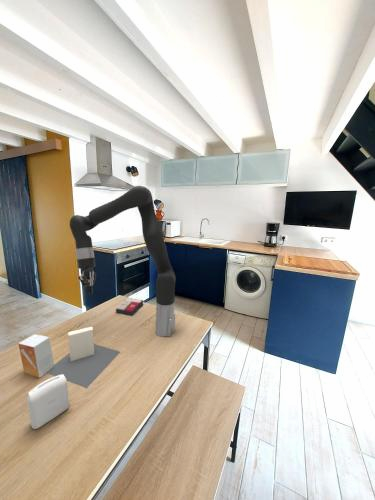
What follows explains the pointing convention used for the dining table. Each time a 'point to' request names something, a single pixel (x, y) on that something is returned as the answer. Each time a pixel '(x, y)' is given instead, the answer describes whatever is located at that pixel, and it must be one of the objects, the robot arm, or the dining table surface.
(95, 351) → the charcoal mat
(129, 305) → the red and black box
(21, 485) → the dining table surface
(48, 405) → the photo printer
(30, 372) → the small box
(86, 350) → the cream tile
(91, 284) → the robot arm
